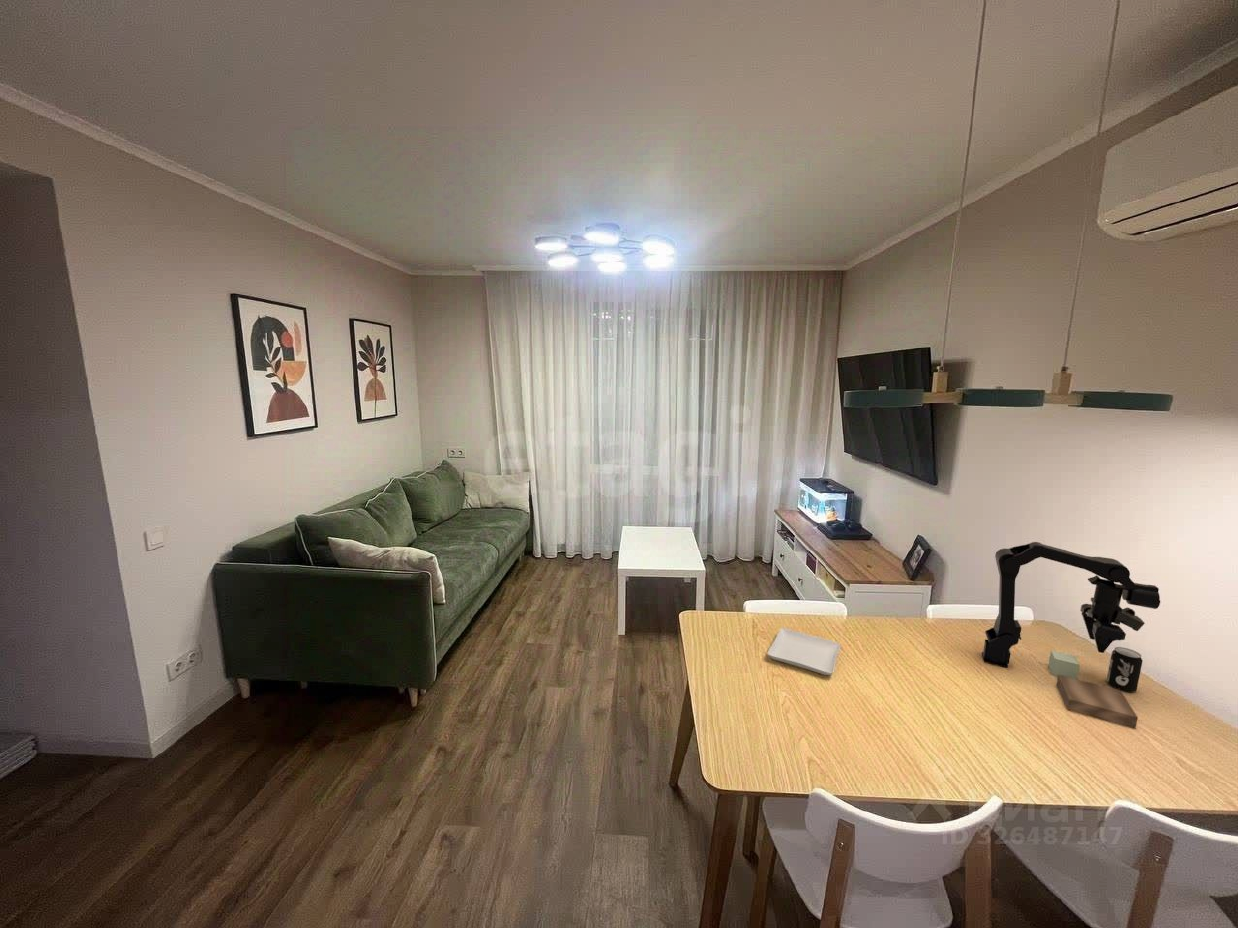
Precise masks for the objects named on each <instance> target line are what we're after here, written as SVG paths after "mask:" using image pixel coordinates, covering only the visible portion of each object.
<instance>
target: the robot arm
mask: <svg viewBox="0 0 1238 928" xmlns="http://www.w3.org/2000/svg"><path fill="white" fill-rule="evenodd" d="M994 557H995V563H996V566H997V570H998V574H999V584H998V585H999V587H998V588H999V589H998V590H999V591H998V613H997V614H998V615H997V617H996V618H995V621H994V625H993V627H991V628H989V629H987V630H985V631H984V633H985V636H986V638H985V639H984V642H983V643H984V644H983V650H982V651H981V655H982V660H983V662H984V663H987V664H991V665H996V666H998V667H999V666H1000V667H1003V668H1008V667H1009V666H1008V665H1009V664H1010V660H1011V655H1012V654H1011V650H1010V649H1011V648H1012V647H1013V646H1015V645H1018V644H1019V641H1020V640H1022V637H1021V633H1022V626H1021V624H1020V623H1019V620H1017V619H1016V620H1015V603H1016V602H1015V596H1016V595H1015V593H1016V578H1017V577H1018V575H1019V573H1020V569H1021V566H1025V565H1027V564H1029V563H1031V562H1033V561H1035V560H1036V559H1039V558H1043V559H1045V560H1050V561H1054V562H1058V563H1061V564H1065V565H1068V566H1072V567H1075V568H1078V569H1082V570H1085V571H1088V572H1089V573H1092V574H1094V576H1092V577H1088V578H1087V581H1088V582H1089V583H1090V584H1091V585H1093V586H1095V590H1094V595H1093V597H1090V602H1091V604H1089V603H1083V604H1081V606H1080V612H1081V616H1082V619H1083V622H1084V625H1085V628H1086V630H1087V634H1088V637H1089V639H1090V640H1093V641H1095V645H1096V648H1097V652H1098V653H1101V654H1104V653H1105V651H1106V650H1107V649H1108V648H1109V646H1111V644H1112V643H1113V642H1115V641H1125V640H1126V639H1125V638H1126V635H1127V634H1126V632H1125V630H1124V629H1123V628H1122V627H1120V625H1121V624H1122V625H1125V626H1127V627H1129V628H1131V629H1132V630H1133V631H1135V632H1138V631H1140V630H1141V628H1143V626H1144V625H1145V624H1146V623H1145V621H1143V619H1142V618H1140V617H1139V616H1138V615H1136V611H1135V610H1134V609H1132V608H1130V607H1124V608H1122V607H1121V606H1120V605H1121V600H1124V601H1125V602H1126V603H1127V604H1128V605H1132V606H1137V607H1142V608H1149V609H1153V610H1156V609H1158V608H1160V606H1161V600H1160V599H1161V597H1160V593H1159V591H1160V588H1159V587H1157V585H1155V584H1154V585H1152V584H1143V583H1138V582H1134V581H1133V580H1132V579H1131V576H1130V574H1131V573H1130V572H1131V571H1130V570H1129V568H1127V566H1125V564H1122V563H1121V562H1120V561H1119V560H1117V559H1115V558H1109V557H1103V556H1090V555H1089V556H1088V555H1085V554H1080V553H1076V552H1073V551H1070V550H1067V549H1062V548H1058V547H1054V546H1052V545H1047V544H1044V543H1041V542H1039V541H1032V542H1030V543H1027V544H1022V545H1017V546H1013V547H1011V548H1010V547H1009V548H1002V549H999V550H997V551H996V552H995V556H994Z"/></svg>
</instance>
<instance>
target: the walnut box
mask: <svg viewBox="0 0 1238 928" xmlns="http://www.w3.org/2000/svg"><path fill="white" fill-rule="evenodd" d="M1055 686H1056V688H1057V690H1058V692H1059V694H1060V696H1061V700H1062V701H1063V704H1064V706H1065V708H1066V710H1067V711H1070V712H1073V713H1077V714H1080V715H1085V716H1088V717H1091V718H1095V719H1098V720H1103V721H1106V722H1109V723H1112V724H1113V723H1114V724H1117V725H1120V726H1124V727H1127V728H1132V729H1134V730H1136V728H1137V723H1138V719H1139V718H1138V716H1137V714H1136V712H1135V711H1134V709H1133V708H1132V706H1131V705H1130V703H1129V701H1128V700H1127V698H1126V696H1125V695H1124V693H1123V692H1122V690H1119V689H1116V688H1114V687H1113V688H1112V687H1109V686H1105V685H1101V684H1097V683H1093V682H1090V681H1089V682H1088V681H1086V680H1082V679H1074V678H1070V677H1066V676H1062V675H1058V677H1057V679H1056V685H1055Z"/></svg>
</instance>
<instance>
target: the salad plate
mask: <svg viewBox="0 0 1238 928" xmlns="http://www.w3.org/2000/svg"><path fill="white" fill-rule="evenodd" d="M841 646H842V645H841V644H840V642H837V641H833V640H830V639H826V638H823V637H819V636H815V635H812V634H808V633H804V632H801V631H797V630H792V629H789V628H787V627H786V628H785V627H780V629H779V630H778V633H777V635H776V636H775V639H774V640H773V642H772V644H771V645H770V647H769V649H768V650H767V653H766V654H767V656H768V657H769V658H771V659H773V660H776V661H778V662H780V663H781V662H782V663H786V664H789V665H791V666H796V667H797V668H802V669H805V670H808V671H812V672H815V673H817V674H822V675H826V676H830V675H833V674H834V671H835V667H836V664H837V659H838V655H839V652H840V649H841Z"/></svg>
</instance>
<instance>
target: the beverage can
mask: <svg viewBox="0 0 1238 928" xmlns="http://www.w3.org/2000/svg"><path fill="white" fill-rule="evenodd" d="M1110 655H1111V656H1110V660H1109V665H1108V670H1107V675H1106V681H1107V683H1108V685H1110V686H1111V688H1112V687H1113V688H1114V689H1118V690H1121V692H1122V691H1123V692H1125V693H1133V692H1135V691H1137V689H1138V686H1139V680H1140V676H1141V671H1142V665H1143V662H1144V661H1143V659H1142V654H1141V653H1140V652H1138V651H1136V650H1133V649H1130V648H1128V647H1122V646H1115V647H1114V650H1112V651H1111V654H1110Z"/></svg>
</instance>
